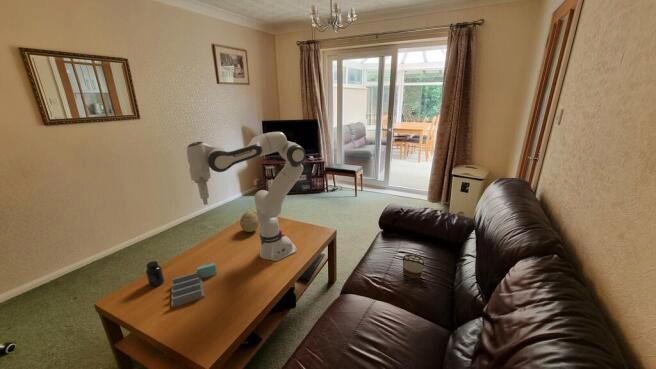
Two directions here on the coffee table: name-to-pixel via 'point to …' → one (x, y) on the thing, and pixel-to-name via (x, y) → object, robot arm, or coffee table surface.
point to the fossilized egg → (249, 222)
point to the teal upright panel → (206, 270)
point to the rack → (186, 289)
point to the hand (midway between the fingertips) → (204, 200)
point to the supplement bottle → (154, 274)
